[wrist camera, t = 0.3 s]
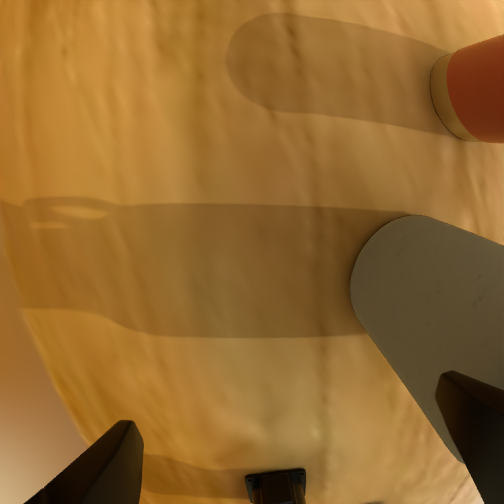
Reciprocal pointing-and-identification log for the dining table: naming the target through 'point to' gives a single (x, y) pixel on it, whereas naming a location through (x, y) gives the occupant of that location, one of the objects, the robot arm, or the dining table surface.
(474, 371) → the water bottle
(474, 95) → the tin can
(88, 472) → the robot arm
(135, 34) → the dining table surface
